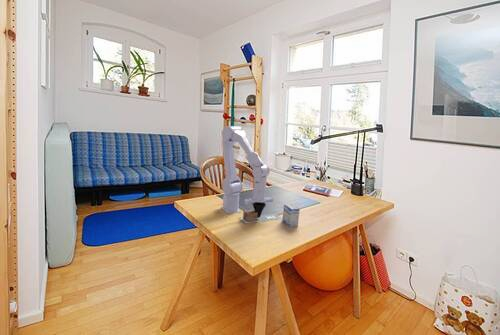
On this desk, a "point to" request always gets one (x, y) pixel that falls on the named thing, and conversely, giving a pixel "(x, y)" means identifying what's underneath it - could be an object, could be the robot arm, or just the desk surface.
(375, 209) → the desk surface
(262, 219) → the board
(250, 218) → the walnut block
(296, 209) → the medicine box
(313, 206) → the desk surface
